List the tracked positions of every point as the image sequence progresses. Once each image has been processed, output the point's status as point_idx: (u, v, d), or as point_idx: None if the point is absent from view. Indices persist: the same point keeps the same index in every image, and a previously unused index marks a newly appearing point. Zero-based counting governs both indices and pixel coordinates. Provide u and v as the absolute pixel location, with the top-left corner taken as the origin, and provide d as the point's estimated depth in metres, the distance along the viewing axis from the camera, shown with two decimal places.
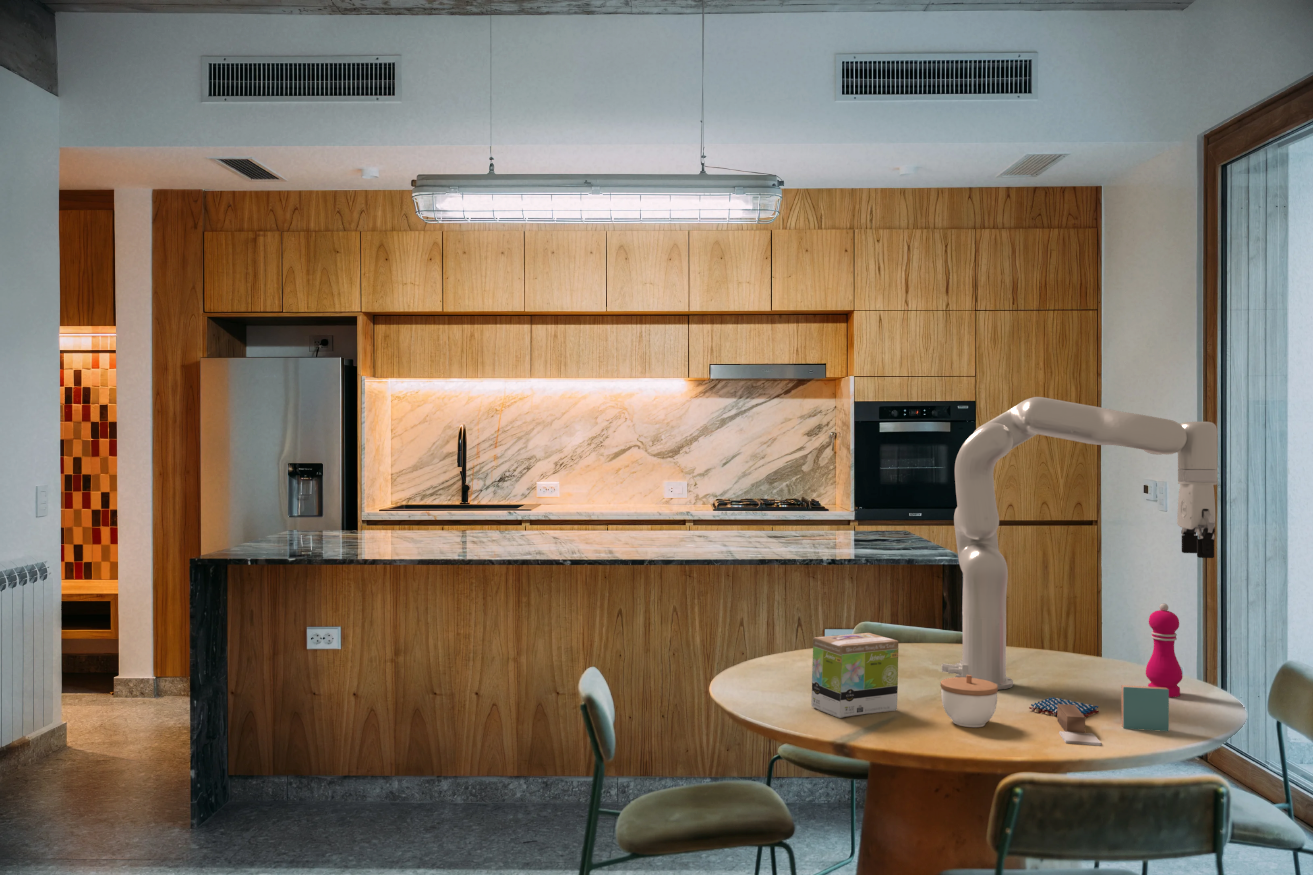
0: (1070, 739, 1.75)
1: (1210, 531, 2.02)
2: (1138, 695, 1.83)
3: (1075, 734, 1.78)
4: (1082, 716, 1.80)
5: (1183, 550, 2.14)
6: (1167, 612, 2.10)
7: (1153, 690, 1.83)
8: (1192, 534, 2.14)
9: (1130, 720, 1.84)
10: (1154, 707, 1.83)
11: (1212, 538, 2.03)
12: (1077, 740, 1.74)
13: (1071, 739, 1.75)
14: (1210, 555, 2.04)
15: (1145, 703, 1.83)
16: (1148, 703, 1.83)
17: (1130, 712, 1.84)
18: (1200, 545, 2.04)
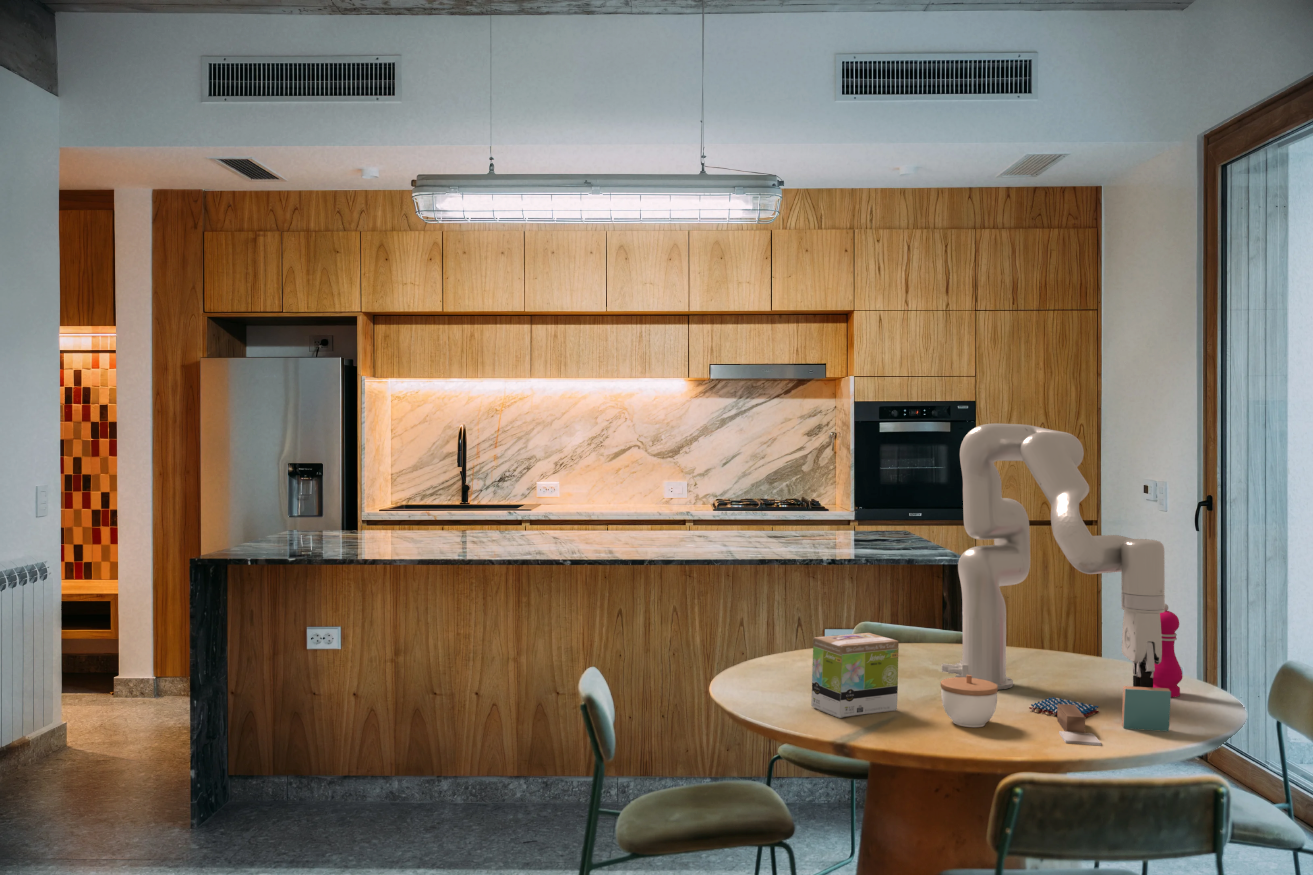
0: (1070, 739, 1.75)
1: (1147, 671, 1.83)
2: (1140, 697, 1.82)
3: (1075, 734, 1.78)
4: (1082, 716, 1.80)
5: None
6: (1167, 612, 2.10)
7: (1155, 692, 1.82)
8: None
9: (1130, 720, 1.83)
10: (1155, 708, 1.82)
11: (1151, 677, 1.84)
12: (1077, 740, 1.74)
13: (1071, 739, 1.75)
14: None
15: (1146, 705, 1.82)
16: (1149, 705, 1.82)
17: (1131, 713, 1.83)
18: (1138, 684, 1.85)
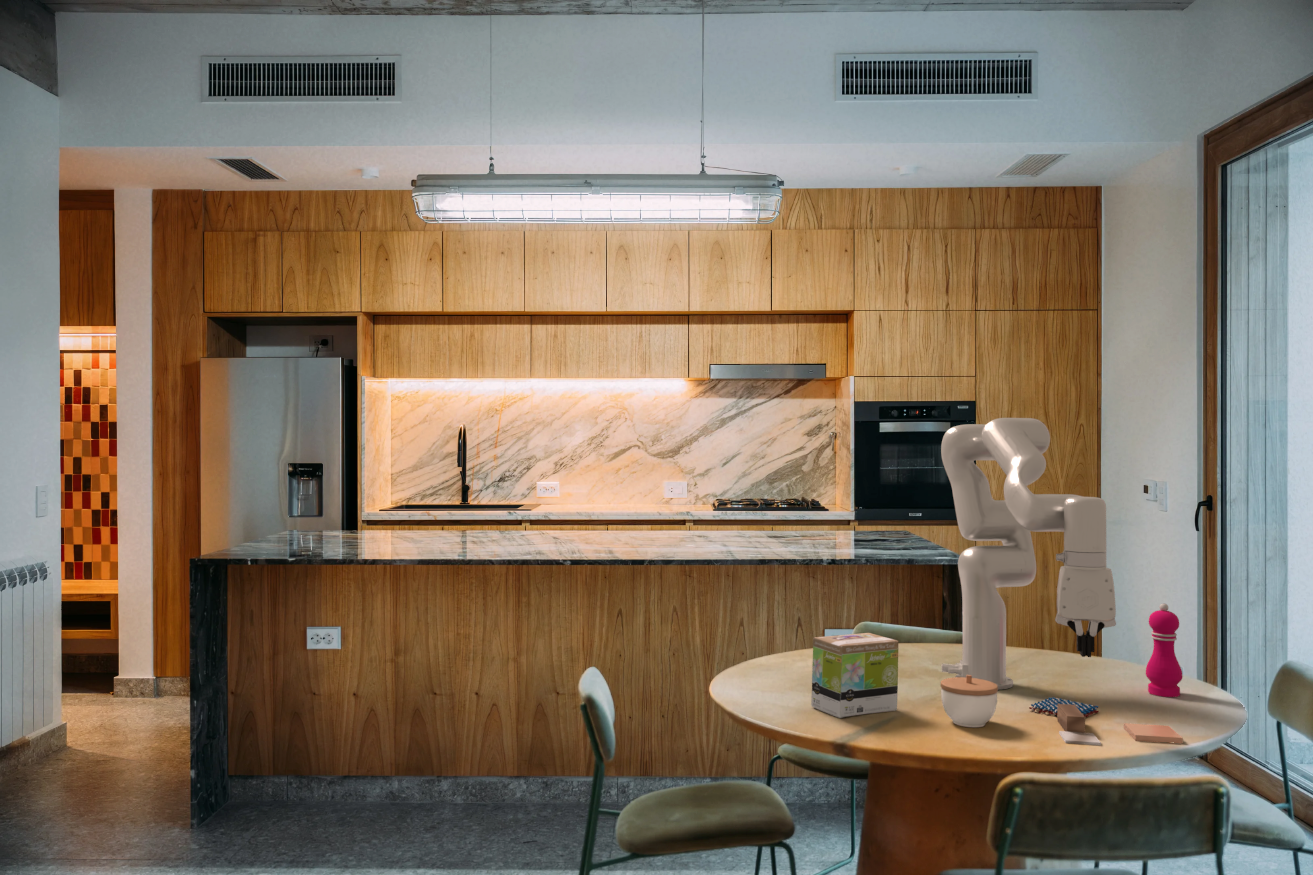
0: (1070, 739, 1.75)
1: None
2: None
3: (1074, 734, 1.78)
4: (1082, 716, 1.80)
5: (1085, 653, 1.82)
6: (1167, 612, 2.10)
7: None
8: None
9: None
10: None
11: None
12: (1077, 740, 1.74)
13: (1071, 739, 1.75)
14: None
15: None
16: None
17: None
18: (1090, 643, 1.83)
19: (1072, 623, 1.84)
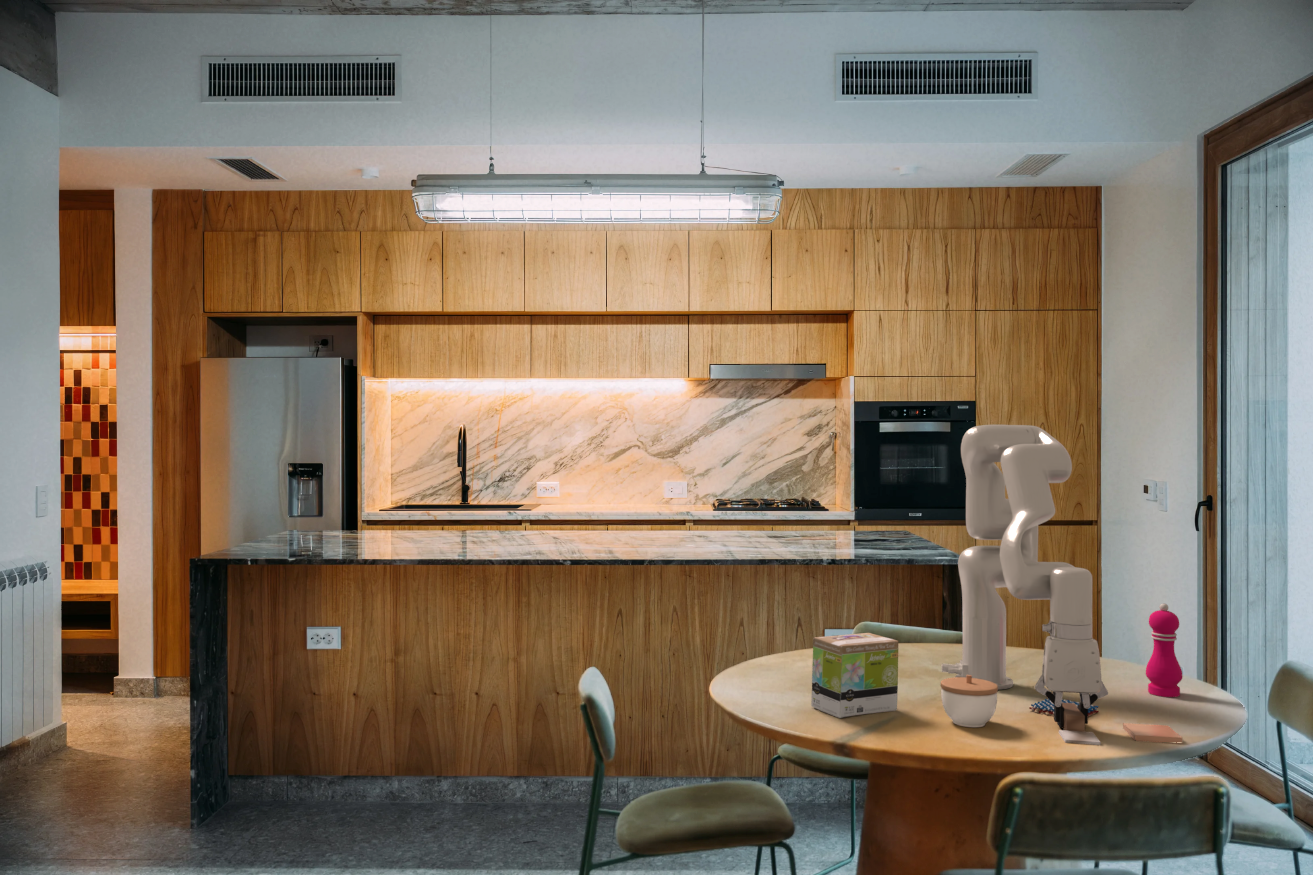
0: (1069, 738, 1.75)
1: None
2: None
3: (1074, 733, 1.78)
4: (1082, 715, 1.80)
5: (1063, 725, 1.83)
6: (1167, 612, 2.10)
7: None
8: None
9: None
10: None
11: None
12: (1077, 739, 1.74)
13: (1070, 738, 1.75)
14: None
15: None
16: None
17: None
18: (1084, 715, 1.82)
19: (1050, 694, 1.84)
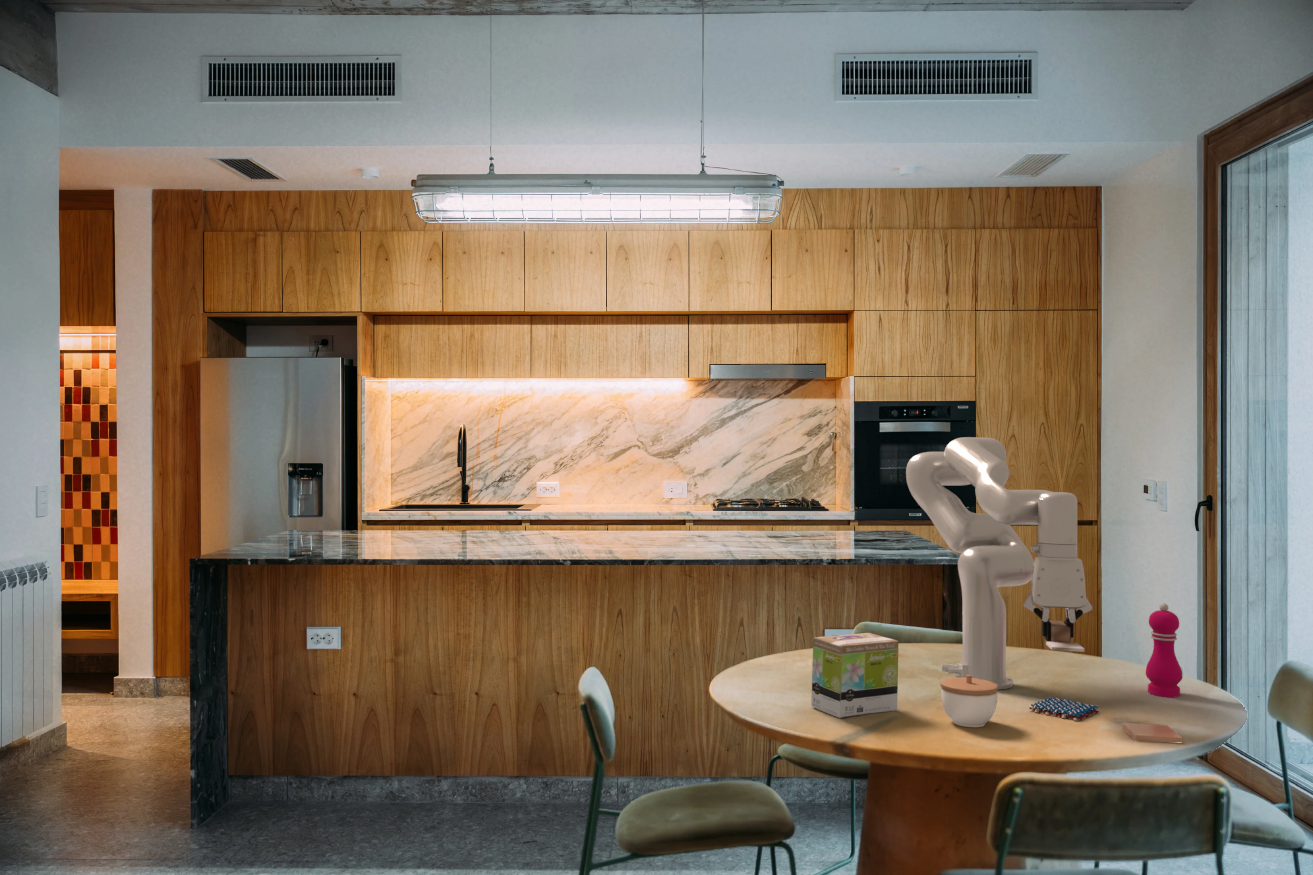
0: (1056, 646, 1.88)
1: None
2: None
3: (1060, 643, 1.91)
4: (1067, 627, 1.93)
5: (1050, 638, 1.96)
6: (1167, 612, 2.10)
7: None
8: None
9: None
10: None
11: None
12: (1062, 647, 1.87)
13: (1057, 646, 1.88)
14: None
15: None
16: None
17: None
18: (1070, 629, 1.95)
19: (1038, 610, 1.97)
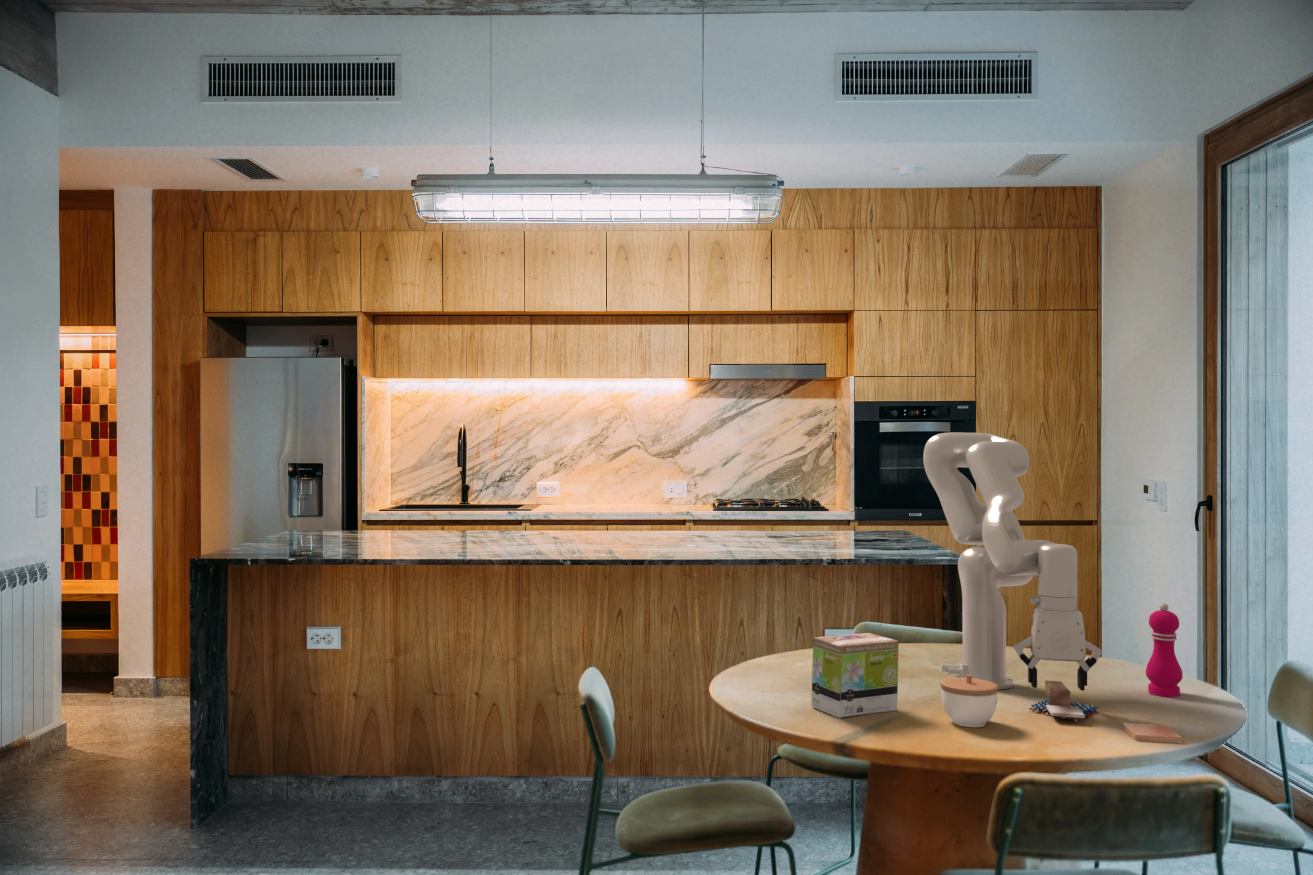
0: (1056, 711, 1.88)
1: None
2: None
3: (1060, 707, 1.91)
4: (1068, 691, 1.93)
5: (1036, 685, 1.96)
6: (1167, 612, 2.10)
7: None
8: None
9: None
10: None
11: None
12: (1062, 713, 1.87)
13: (1057, 711, 1.88)
14: None
15: None
16: None
17: None
18: None
19: (1024, 656, 1.97)
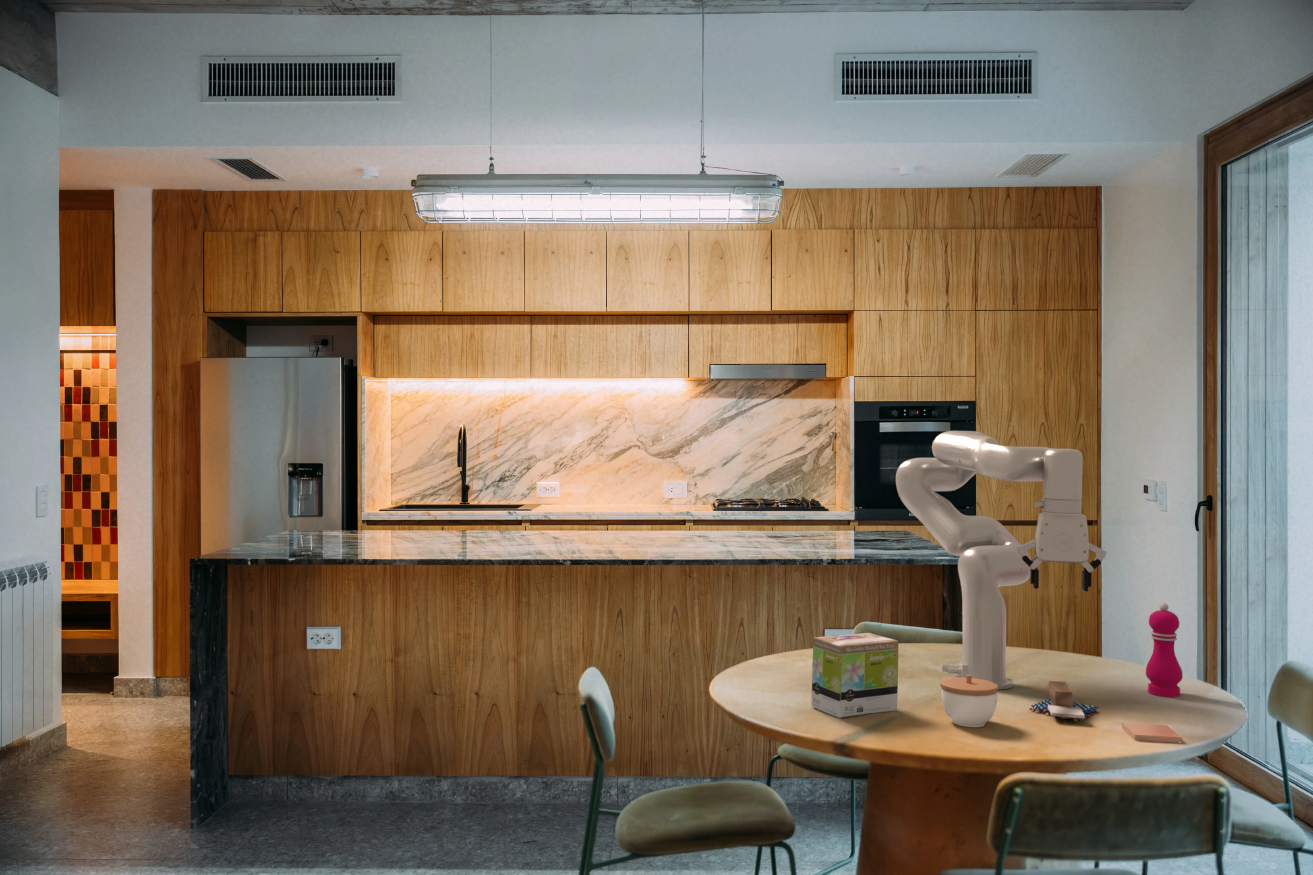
0: (1056, 712, 1.88)
1: None
2: None
3: (1062, 707, 1.91)
4: (1069, 691, 1.93)
5: (1038, 586, 1.99)
6: (1167, 612, 2.10)
7: None
8: None
9: None
10: None
11: None
12: (1062, 713, 1.87)
13: (1057, 712, 1.88)
14: None
15: None
16: None
17: None
18: (1087, 578, 1.97)
19: (1026, 558, 2.00)
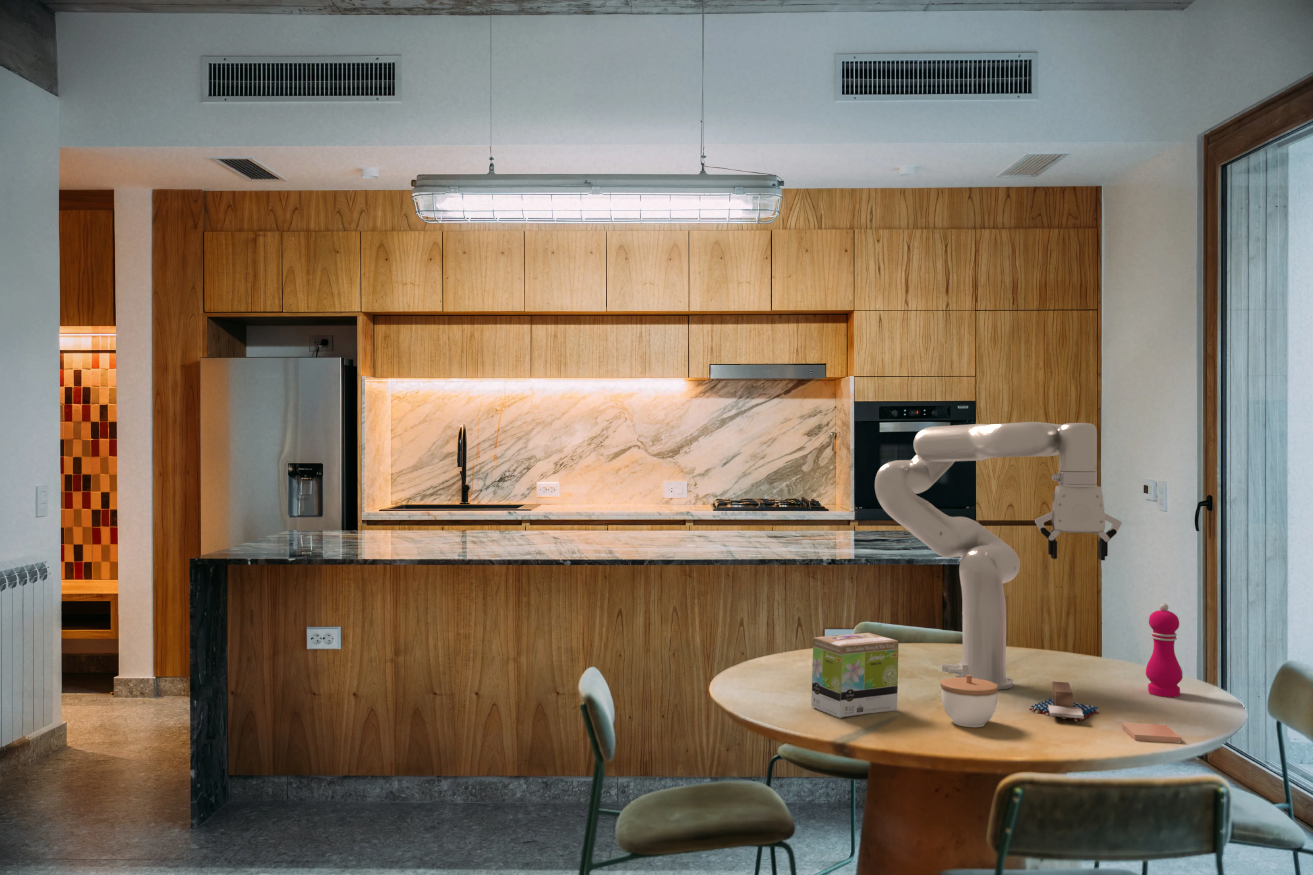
0: (1055, 711, 1.88)
1: None
2: None
3: (1062, 707, 1.91)
4: (1070, 691, 1.93)
5: (1056, 556, 2.05)
6: (1167, 612, 2.10)
7: None
8: None
9: None
10: None
11: None
12: (1061, 713, 1.87)
13: (1056, 711, 1.88)
14: None
15: None
16: None
17: None
18: None
19: (1045, 529, 2.06)
